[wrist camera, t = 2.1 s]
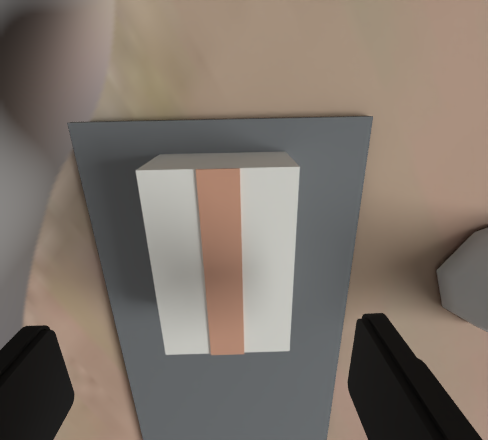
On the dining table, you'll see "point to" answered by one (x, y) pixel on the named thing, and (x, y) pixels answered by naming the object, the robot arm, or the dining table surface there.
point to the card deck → (222, 249)
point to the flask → (467, 280)
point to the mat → (304, 285)
